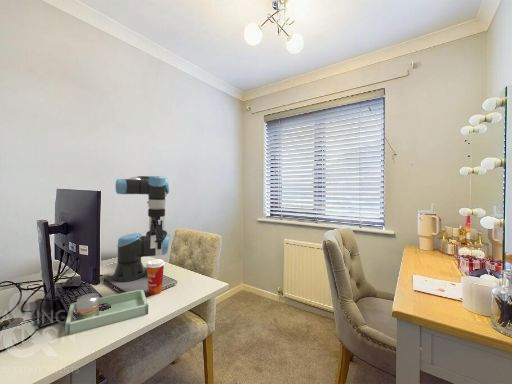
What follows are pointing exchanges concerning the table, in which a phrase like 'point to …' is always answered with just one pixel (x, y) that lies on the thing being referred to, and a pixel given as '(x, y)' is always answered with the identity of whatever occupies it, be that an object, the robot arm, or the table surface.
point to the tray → (110, 311)
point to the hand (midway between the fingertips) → (155, 251)
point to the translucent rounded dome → (88, 306)
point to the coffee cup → (155, 276)
